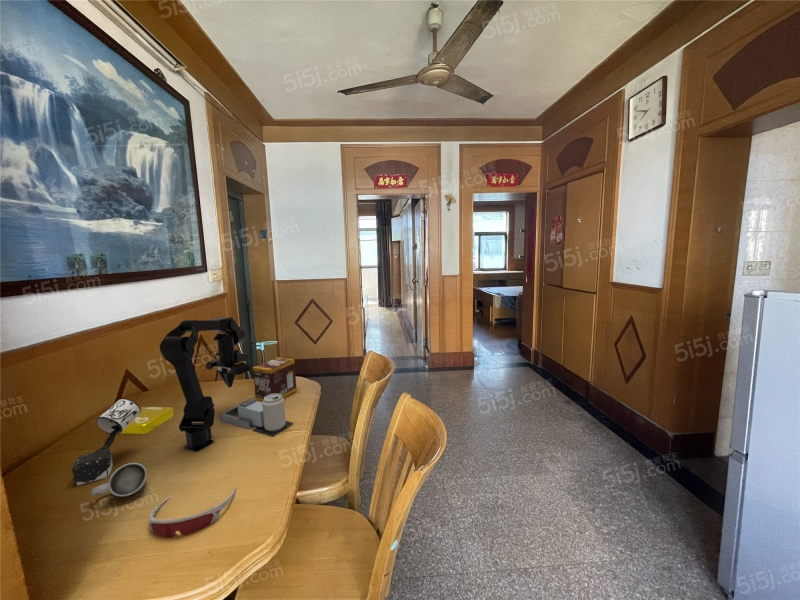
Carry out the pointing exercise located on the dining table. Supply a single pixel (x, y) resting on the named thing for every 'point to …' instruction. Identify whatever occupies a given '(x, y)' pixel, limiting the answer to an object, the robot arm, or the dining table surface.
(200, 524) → the sunglasses
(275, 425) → the can
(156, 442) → the dining table surface
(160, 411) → the element tile
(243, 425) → the base
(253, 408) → the grey stepped machine block
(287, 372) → the supplement box
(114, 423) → the table lamp
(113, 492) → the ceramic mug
